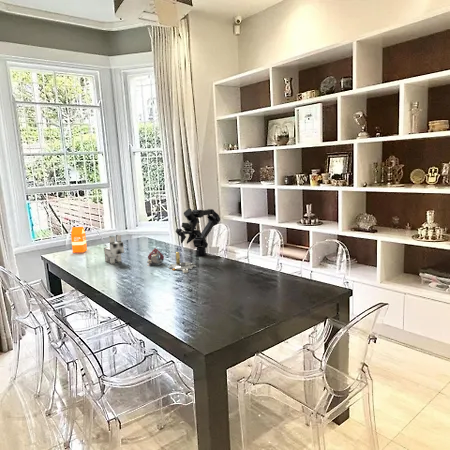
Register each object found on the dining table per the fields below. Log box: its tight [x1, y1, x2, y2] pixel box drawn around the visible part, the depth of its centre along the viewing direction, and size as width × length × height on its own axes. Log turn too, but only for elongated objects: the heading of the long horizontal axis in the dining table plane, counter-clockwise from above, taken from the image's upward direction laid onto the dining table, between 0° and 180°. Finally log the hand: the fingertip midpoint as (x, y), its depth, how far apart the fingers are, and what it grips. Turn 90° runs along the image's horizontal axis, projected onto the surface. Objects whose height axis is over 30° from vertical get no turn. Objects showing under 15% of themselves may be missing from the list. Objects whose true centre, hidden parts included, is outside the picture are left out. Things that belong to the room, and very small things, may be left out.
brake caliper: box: [146, 247, 165, 267], centre depth 266 cm, size 11×11×12 cm
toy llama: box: [103, 233, 125, 265], centre depth 275 cm, size 8×18×20 cm, turn 42°
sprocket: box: [168, 251, 197, 271], centre depth 257 cm, size 18×18×9 cm
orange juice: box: [70, 226, 88, 254], centre depth 313 cm, size 8×9×20 cm
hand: (184, 243), depth 267 cm, fingers open, 4 cm apart
